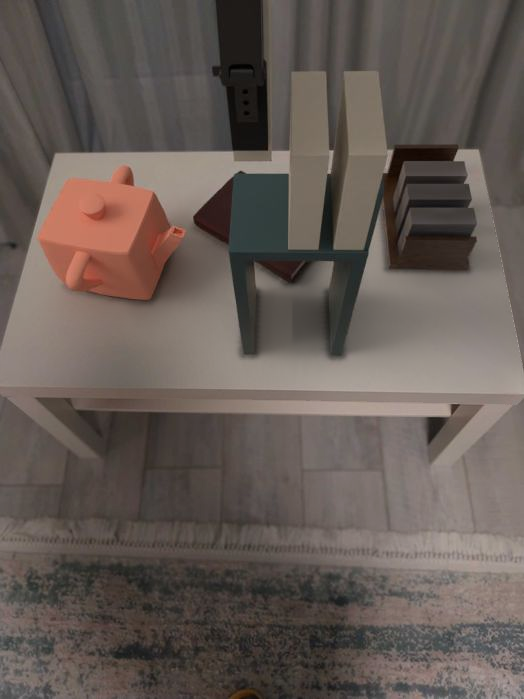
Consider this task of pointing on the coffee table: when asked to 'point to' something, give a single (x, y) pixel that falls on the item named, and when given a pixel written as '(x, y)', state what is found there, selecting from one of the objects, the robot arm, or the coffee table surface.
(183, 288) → the coffee table surface
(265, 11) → the beige rectangular block
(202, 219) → the book
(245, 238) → the teal stand with panels
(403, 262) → the brown rack
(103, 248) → the teapot
